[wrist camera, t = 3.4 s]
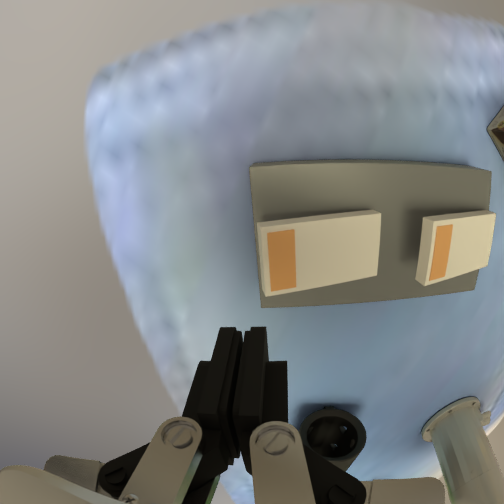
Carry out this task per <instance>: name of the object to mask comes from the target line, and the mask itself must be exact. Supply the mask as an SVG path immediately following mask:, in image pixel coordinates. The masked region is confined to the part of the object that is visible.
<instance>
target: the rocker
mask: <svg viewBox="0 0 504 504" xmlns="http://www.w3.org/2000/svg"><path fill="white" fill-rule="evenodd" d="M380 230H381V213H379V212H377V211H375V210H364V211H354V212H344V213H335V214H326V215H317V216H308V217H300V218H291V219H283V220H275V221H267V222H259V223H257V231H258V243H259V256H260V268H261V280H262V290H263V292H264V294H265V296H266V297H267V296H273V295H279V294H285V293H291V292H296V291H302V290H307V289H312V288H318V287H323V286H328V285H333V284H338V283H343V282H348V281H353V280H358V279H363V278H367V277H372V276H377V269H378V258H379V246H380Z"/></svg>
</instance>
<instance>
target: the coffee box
mask: <svg viewBox="0 0 504 504" xmlns="http://www.w3.org/2000/svg"><path fill="white" fill-rule="evenodd" d="M487 131H488V133H489V135H490V136H491V138H492V140H493V142H494V143H495V145H496V147H497V149H498V151H499V153H500V155H501V157H502V159H503V161H504V106H503V108H502V109H501V110H500V112H499V113H498V114H497V116H496V117H495V118H494V120H493V121H492V122H491V123H490V125H489V126H488V128H487Z"/></svg>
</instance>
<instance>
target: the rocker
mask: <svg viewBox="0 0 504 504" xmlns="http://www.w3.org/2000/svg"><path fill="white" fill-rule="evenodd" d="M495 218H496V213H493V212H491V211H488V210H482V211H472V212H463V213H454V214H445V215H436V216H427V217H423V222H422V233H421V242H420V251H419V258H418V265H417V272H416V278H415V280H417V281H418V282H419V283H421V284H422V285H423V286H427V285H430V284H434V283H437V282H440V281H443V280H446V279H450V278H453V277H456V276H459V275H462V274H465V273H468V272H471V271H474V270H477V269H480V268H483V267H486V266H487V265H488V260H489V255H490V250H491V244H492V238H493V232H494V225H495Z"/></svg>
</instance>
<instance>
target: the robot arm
mask: <svg viewBox="0 0 504 504" xmlns="http://www.w3.org/2000/svg"><path fill="white" fill-rule="evenodd" d="M479 409H480V402H479V400H478V399H477V398H475V397H467V398H464V399H460V400H458V401H456V402H454V403H452V404H450V405H448V406H447V407H445V408H443V409H442V410H441V411H439V412H438V413H437V414H435V415H434V416H433V417H432V418H431V419H430V420H429V421H428V422H427V423H426V424H425V426H424V427H423V429H422V432H421V435H422V438H423V439H424V440H425V441H427V442H433V444H434V447H435V450H436V454H437V457H438V460H439V463H440V466H441V470H442V473H443V476H444V480H445V483H446V487H447V490H448V495H449V498H450V502H451V504H504V478H503V475H502V473H501V470H500V468H499V465H498V462H497V459H496V457H495V454H494V452H493V450H492V447H491V445H490V443H489V440H488V438H487V436H486V434H485V431H484V429H483V426H485V425H487V424H489V423H490V416H491V412H490V411H487V412H484V413H483V414H482V413H480V411H479ZM240 451H241V454H242V457H243V461H244V464H245V468H246V471H247V472H248V473H249V474H250V475H252V476H253V487H254V498H255V504H445V489H444V485H443V484H442V482H441V481H440V480H438V479H436V478H432V477H424V478H411V479H384V480H373V481H359V480H358V479H356V478H355V477H353V476H351V475H350V474H348V473H346V472H345V471H343V470H342V469H340V468H338V467H337V466H335V465H334V464H332V463H331V462H329V461H328V460H326V459H324V458H323V457H321V456H320V455H318V454H317V453H316V452H314V451H313V450H311V449H310V448H308V447H307V446H305V445H304V444H303V443H302V441H301V437H300V434H299V432H298V430H297V429H296V428H295V427H294V426H292V425H290V424H288V380H287V361H269V358H268V344H267V331H266V327H251V329H250V331H245V335H244V341H243V338H242V332H241V331H237V330H236V328H235V327H221V328H220V330H219V333H218V337H217V341H216V344H215V348H214V351H213V355H212V358H211V361H200V362H199V364H198V367H197V370H196V373H195V376H194V380H193V383H192V386H191V389H190V392H189V395H188V398H187V402H186V405H185V408H184V411H183V414H182V417H174V418H171V419H168V420H166V421H165V422H164V423H162V424H161V426H160V427H159V428H158V430H157V432H156V433H155V435H154V437H153V439H152V441H151V442H150V443H148V444H146V445H144V446H142V447H140V448H138V449H135V450H133V451H131V452H129V453H127V454H125V455H122V456H120V457H118V458H116V459H113V460H111V461H109V462H107V463H106V464H105V463H101V462H100V461H95V460H86V459H79V458H72V457H66V456H61V455H55V456H52V457H50V458H49V460H47V461H46V464H45V466H44V470H41V469H38V468H34V467H30V466H22V465H13V466H7V467H4V468H3V469H1V470H0V504H210V503H211V501H212V498H213V496H214V493H215V490H216V488H217V485H218V482H219V479H220V474H221V473H223V472H224V471H226V470H227V469H228V465H233V463H234V458H239V457H240Z"/></svg>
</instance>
